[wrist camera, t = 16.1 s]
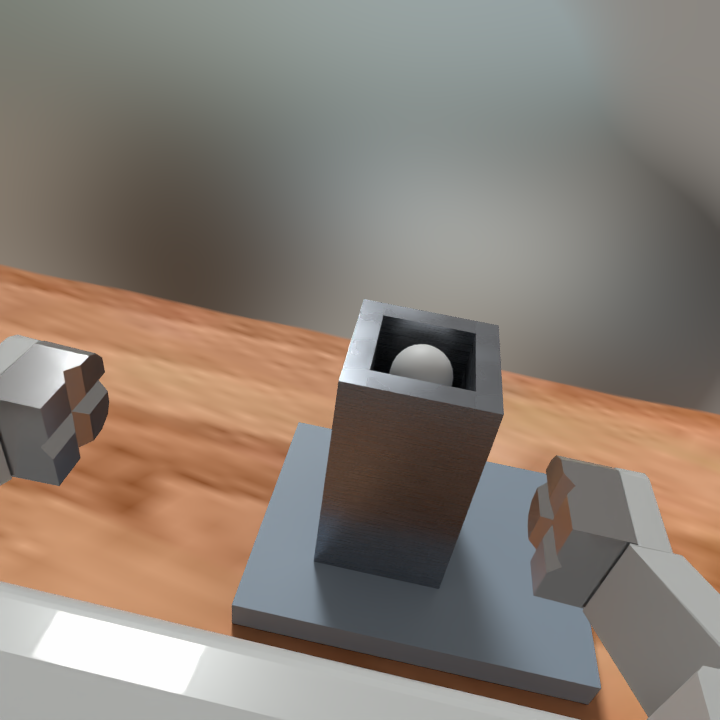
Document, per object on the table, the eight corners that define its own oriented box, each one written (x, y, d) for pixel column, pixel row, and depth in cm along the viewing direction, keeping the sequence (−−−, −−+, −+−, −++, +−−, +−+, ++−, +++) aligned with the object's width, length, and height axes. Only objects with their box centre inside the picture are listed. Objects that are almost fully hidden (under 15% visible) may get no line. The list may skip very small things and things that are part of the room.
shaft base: (231, 623, 26) (232, 418, 19) (297, 440, 36) (314, 256, 29) (588, 704, 26) (733, 522, 18) (557, 495, 35) (644, 320, 28)
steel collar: (313, 561, 28) (338, 381, 21) (337, 469, 33) (364, 299, 26) (439, 588, 27) (503, 414, 21) (444, 491, 32) (498, 325, 26)
